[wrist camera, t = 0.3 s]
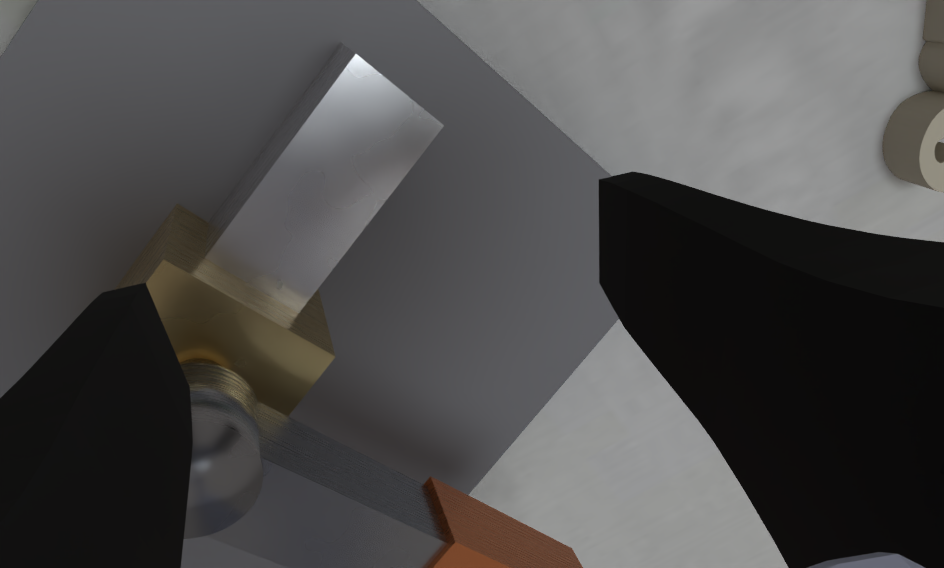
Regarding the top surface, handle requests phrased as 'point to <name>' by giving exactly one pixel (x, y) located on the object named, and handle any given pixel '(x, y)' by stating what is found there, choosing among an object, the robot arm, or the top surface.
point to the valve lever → (332, 496)
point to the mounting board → (367, 260)
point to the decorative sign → (921, 114)
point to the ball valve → (284, 233)
